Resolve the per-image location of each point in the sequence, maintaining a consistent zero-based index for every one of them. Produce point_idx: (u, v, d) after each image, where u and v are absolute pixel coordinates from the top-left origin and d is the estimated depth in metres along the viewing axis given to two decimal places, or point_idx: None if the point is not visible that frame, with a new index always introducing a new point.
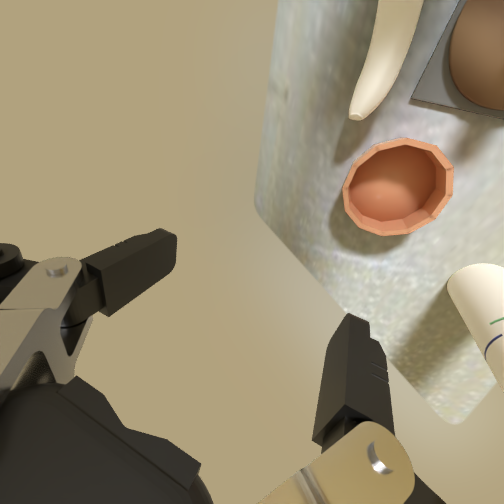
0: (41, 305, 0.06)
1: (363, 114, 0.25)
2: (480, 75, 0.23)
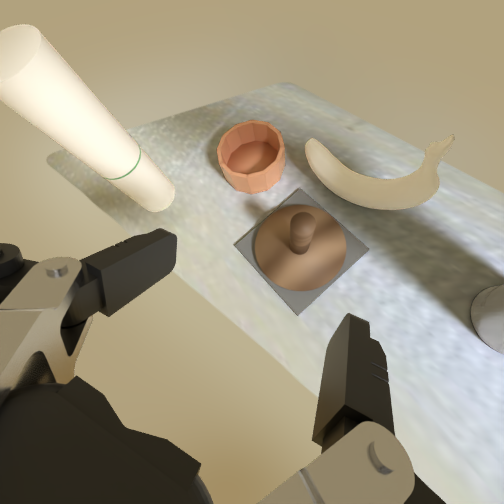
0: (41, 305, 0.06)
1: (307, 144, 0.36)
2: (290, 214, 0.37)
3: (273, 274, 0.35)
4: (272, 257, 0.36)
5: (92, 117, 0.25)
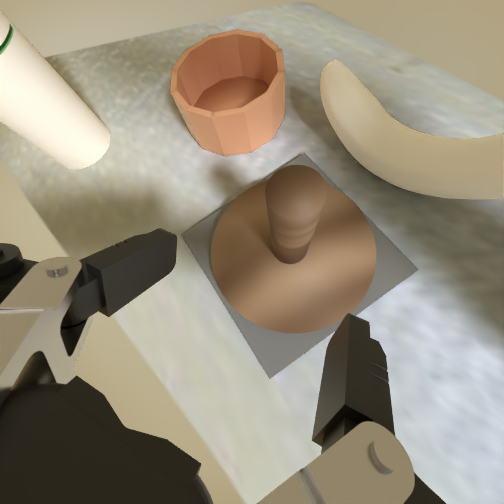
0: (41, 305, 0.06)
1: (326, 70, 0.20)
2: None
3: (235, 294, 0.19)
4: (238, 263, 0.20)
5: None
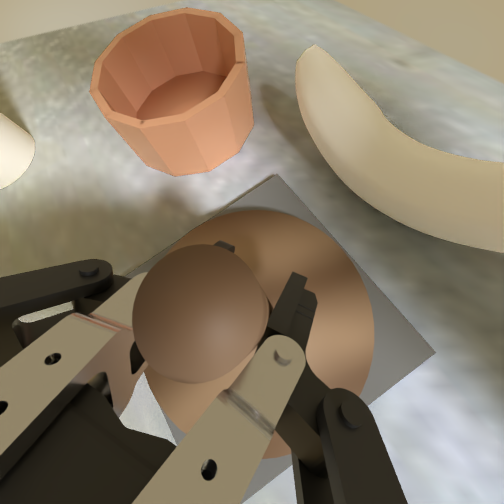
0: (123, 321, 0.06)
1: (302, 60, 0.14)
2: (242, 232, 0.15)
3: (167, 388, 0.13)
4: None
5: None
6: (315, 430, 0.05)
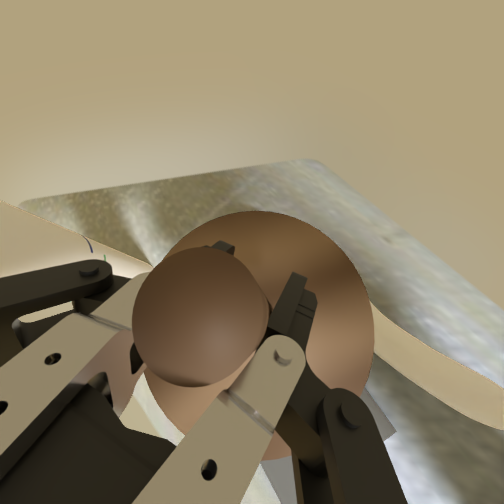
0: (123, 321, 0.06)
1: None
2: (242, 233, 0.15)
3: (167, 389, 0.13)
4: None
5: (14, 265, 0.17)
6: (315, 430, 0.05)
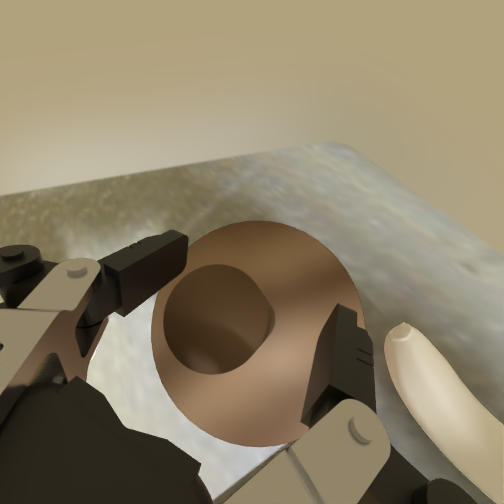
0: (59, 306, 0.06)
1: (398, 344, 0.14)
2: (245, 241, 0.17)
3: (178, 383, 0.14)
4: None
5: None
6: None
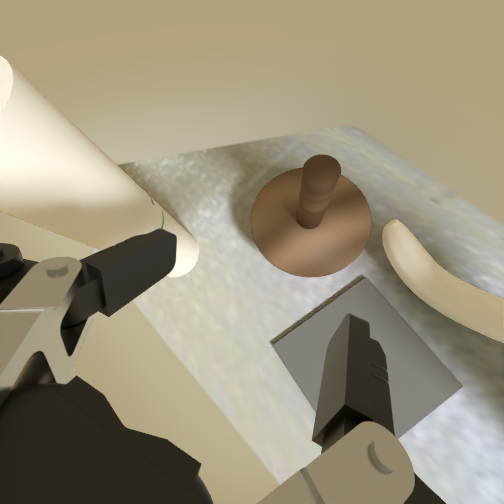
0: (41, 305, 0.06)
1: (389, 228, 0.27)
2: (301, 178, 0.29)
3: (270, 250, 0.27)
4: (271, 229, 0.27)
5: (98, 198, 0.16)
6: None
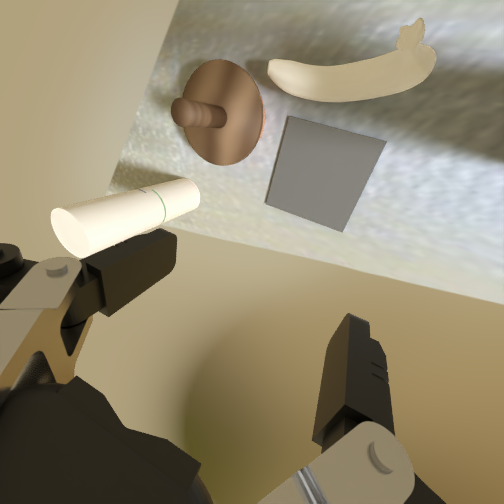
0: (41, 305, 0.06)
1: (269, 73, 0.31)
2: (194, 90, 0.35)
3: (216, 159, 0.38)
4: (207, 145, 0.38)
5: (125, 216, 0.34)
6: None
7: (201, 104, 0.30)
